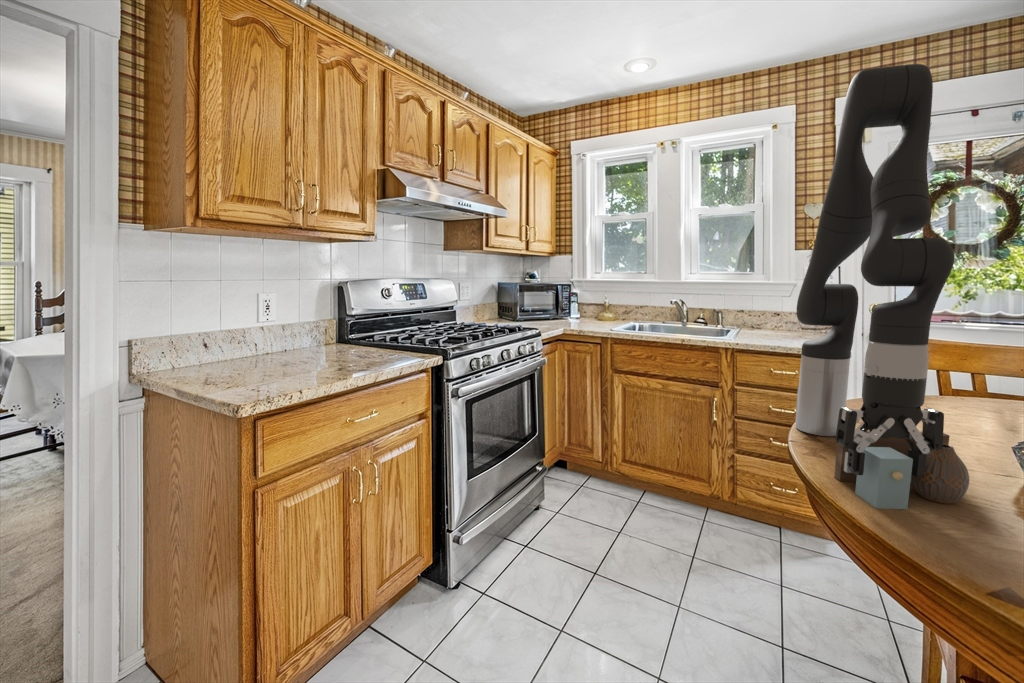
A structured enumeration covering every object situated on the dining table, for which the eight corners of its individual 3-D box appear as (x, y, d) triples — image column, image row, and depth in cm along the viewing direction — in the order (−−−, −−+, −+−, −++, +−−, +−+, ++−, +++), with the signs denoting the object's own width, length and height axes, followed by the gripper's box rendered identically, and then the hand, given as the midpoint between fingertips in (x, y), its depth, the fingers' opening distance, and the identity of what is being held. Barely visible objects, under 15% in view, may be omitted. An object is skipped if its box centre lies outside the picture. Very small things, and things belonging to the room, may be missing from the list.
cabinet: (842, 484, 82) (846, 439, 81) (870, 485, 82) (875, 440, 81) (879, 510, 73) (884, 460, 72) (911, 511, 73) (917, 461, 72)
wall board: (834, 477, 85) (838, 430, 84) (936, 479, 84) (941, 432, 83) (839, 481, 83) (844, 433, 82) (943, 483, 82) (949, 435, 81)
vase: (909, 499, 76) (915, 446, 75) (908, 484, 82) (914, 435, 81) (968, 512, 72) (976, 456, 71) (963, 496, 78) (970, 443, 76)
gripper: (924, 368, 76) (914, 466, 78) (831, 367, 77) (823, 464, 79) (965, 377, 69) (953, 485, 71) (861, 376, 70) (852, 483, 72)
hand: (884, 474), depth 75 cm, fingers open, 8 cm apart
